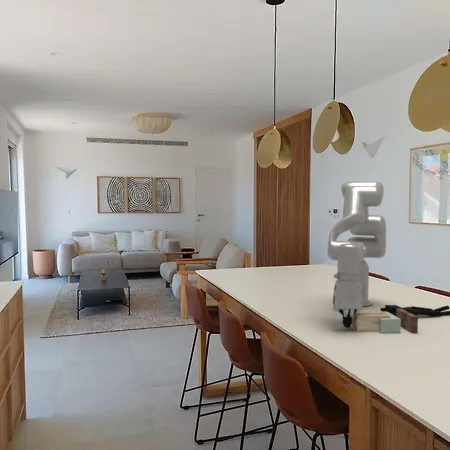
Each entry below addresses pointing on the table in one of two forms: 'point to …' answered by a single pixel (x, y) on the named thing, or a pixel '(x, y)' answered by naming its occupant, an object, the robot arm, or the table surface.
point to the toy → (417, 310)
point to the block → (390, 324)
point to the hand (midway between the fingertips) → (347, 326)
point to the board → (408, 320)
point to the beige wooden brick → (368, 321)
